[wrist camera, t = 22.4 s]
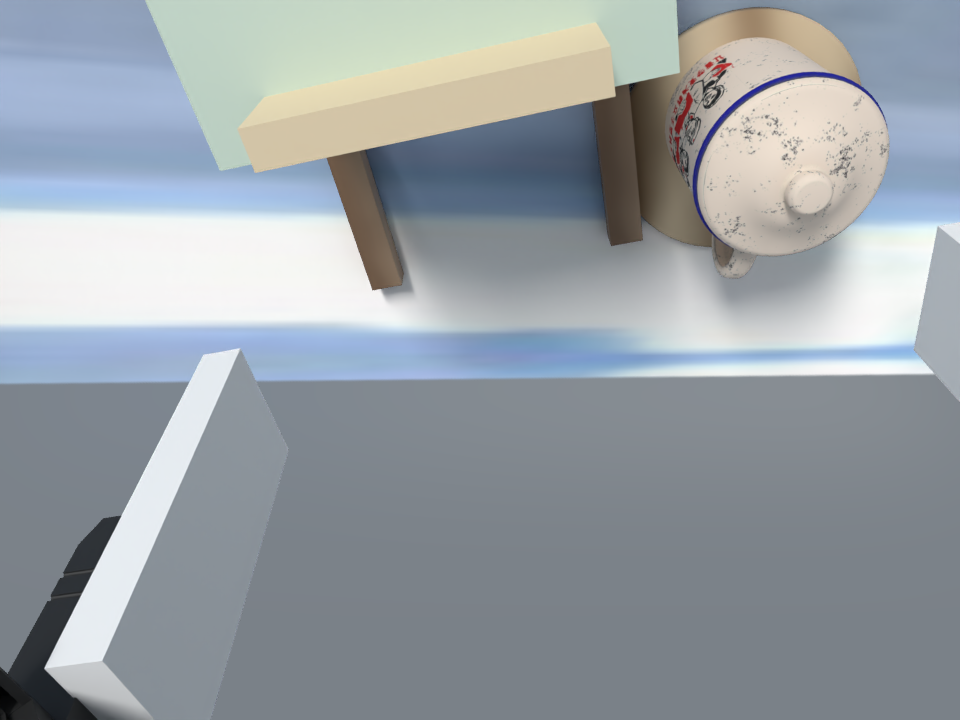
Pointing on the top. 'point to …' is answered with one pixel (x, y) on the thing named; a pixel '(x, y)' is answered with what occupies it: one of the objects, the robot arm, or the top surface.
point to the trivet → (657, 173)
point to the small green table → (397, 67)
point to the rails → (615, 178)
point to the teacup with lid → (773, 150)
